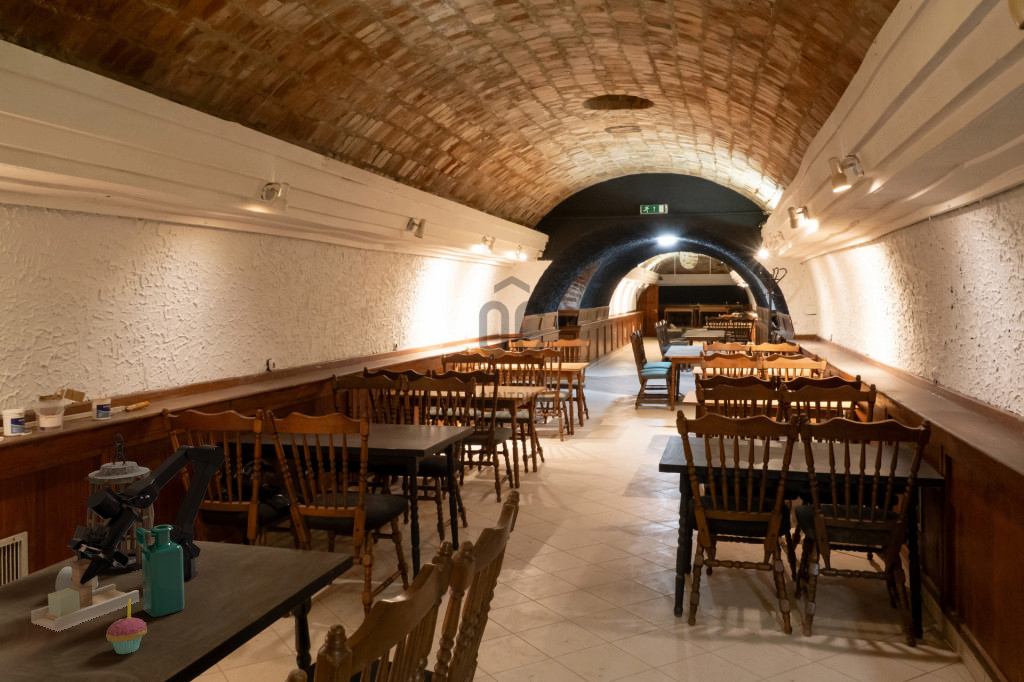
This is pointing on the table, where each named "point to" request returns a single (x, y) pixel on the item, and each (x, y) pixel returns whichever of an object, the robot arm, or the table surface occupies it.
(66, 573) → the ceramic mug
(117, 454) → the lantern
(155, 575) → the green bottle
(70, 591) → the block
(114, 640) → the cupcake
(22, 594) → the table surface
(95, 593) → the lane board
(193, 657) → the table surface
